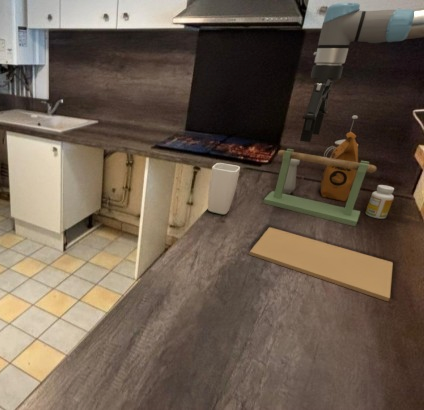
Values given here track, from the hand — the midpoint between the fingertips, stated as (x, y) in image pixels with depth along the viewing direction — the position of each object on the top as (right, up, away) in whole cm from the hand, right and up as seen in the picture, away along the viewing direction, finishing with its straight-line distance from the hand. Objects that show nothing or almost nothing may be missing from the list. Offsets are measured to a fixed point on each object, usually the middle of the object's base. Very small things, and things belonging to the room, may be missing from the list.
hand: (309, 137), depth 112 cm
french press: (+34, -9, +38) cm, 52 cm away
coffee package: (+20, -18, +18) cm, 32 cm away
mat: (-12, -35, -23) cm, 43 cm away
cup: (-27, -23, +3) cm, 36 cm away
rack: (+4, -22, +6) cm, 23 cm away
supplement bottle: (+22, -25, +2) cm, 33 cm away
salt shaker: (+4, -16, +20) cm, 26 cm away
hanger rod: (+4, -7, -1) cm, 8 cm away
